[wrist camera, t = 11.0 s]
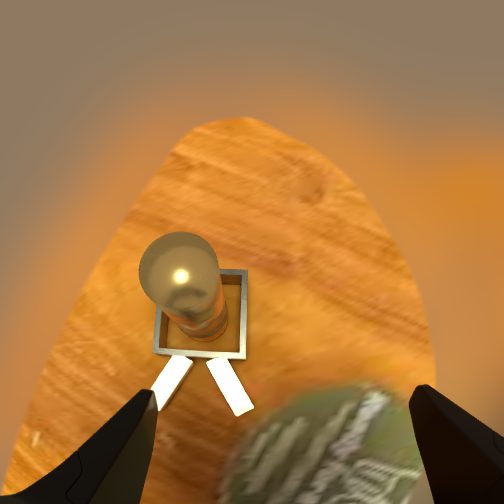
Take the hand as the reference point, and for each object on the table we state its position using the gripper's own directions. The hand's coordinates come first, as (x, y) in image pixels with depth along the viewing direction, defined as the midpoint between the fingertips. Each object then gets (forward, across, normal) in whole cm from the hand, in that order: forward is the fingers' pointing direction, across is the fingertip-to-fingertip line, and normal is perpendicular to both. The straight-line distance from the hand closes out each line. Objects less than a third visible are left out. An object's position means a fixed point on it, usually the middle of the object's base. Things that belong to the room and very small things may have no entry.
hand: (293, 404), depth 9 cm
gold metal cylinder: (+14, +4, +6) cm, 15 cm away
